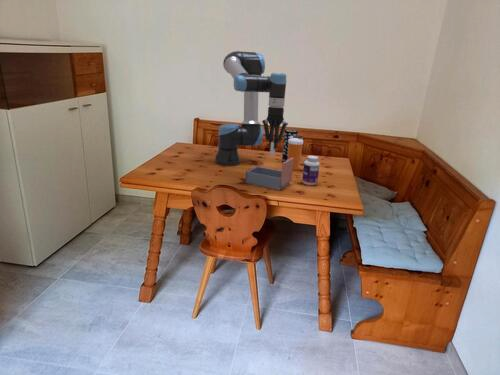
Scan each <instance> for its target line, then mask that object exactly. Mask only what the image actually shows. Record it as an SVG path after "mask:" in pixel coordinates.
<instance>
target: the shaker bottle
mask: <svg viewBox="0 0 500 375" xmlns="http://www.w3.org/2000/svg"><path fill="white" fill-rule="evenodd" d="M303 146H304V139H303V136H302V135H298V136H294V135H291V136H290V138H289V140H288V160H289V159H290V158H294V162H293V171H298V170H299V169H300V164H301V160H302V159H301V158H302V152H303Z"/></svg>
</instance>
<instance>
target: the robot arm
mask: <svg viewBox="0 0 500 375" xmlns="http://www.w3.org/2000/svg"><path fill="white" fill-rule="evenodd" d="M222 64H223V69H224V70H225V71H226V73H228V74H229V75H230V76H231V77H232V78H233V89H234V90H235V91H236V92H241V93H242V92H243V121H242V122H241V124H240V125H239V124H238V123H225V124H221V125H220V126H219V128H218V133H217V135H218V150H217V153H216V155H215V159H214V161H215V164H216V165H221V166H226V167H228V166H230V167H231V166H232V167H233V166H238V165H240V164H241V163H240V162H241V159H240V154H239V151H238V147H241V146H242V147H245V146H247V147H249V146H250V147H254V146H255V147H256V146H257V147H258V146H260V145H261V144H262V142H263V138H264V135H265V140H266V141H268V142H269V143H268V148H269V149H270V153H269V156H272V157H273V156H275V155H276V149H277V148H278V143H279V142H282V140H283V138H284V132H285V130H286V128H287V126H288V125H289V123H288V122H286V121H285V119H284V112H285V108H284V107H285V100H286V87H287V74H286V73H278V72H271V73H270V76H268V75H267V76H264V75H263V74H264V73H265V69H266V61H265V58H264V55H263V54H262V53H260V52H256V51H253V52H252V51H240V50H237V51H232V52H230V53H228V54H227V55H226V56H225V57H224V59H223V62H222ZM259 93H268V107H267V117H266V118H265V119H264V120H262V121H261V122H262V125H263V126H261V122H260V121H259ZM280 126H281V128H280Z"/></svg>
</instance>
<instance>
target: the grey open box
mask: <svg viewBox="0 0 500 375" xmlns="http://www.w3.org/2000/svg"><path fill="white" fill-rule="evenodd" d="M281 175H282V170H279V169H273V168H269V167H262V166H258V165H257V166H254V167H253V168H250V169H249V170H246V171H245V184H249V185H252V186H257V187H263V188H266V187H267V188H268V189H271V188H272V189H271V190H275V189H277V190H276V191H281V190H282V189H284V188H285V187H286V186H287V185H289V184H290V182H289V183H288V184H286V185H285V186H284V187H282V188H280V186H281ZM280 189H281V190H280Z"/></svg>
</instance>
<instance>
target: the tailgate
mask: <svg viewBox="0 0 500 375" xmlns="http://www.w3.org/2000/svg"><path fill="white" fill-rule="evenodd" d="M293 162H294V158H290V159H289V160H287V161H285V162H282V165H281V166H282V168H281V171H282V175H281V186H280V188H282V187H283V188H285V187H286V186H287V185H286V184H288V183H289V184H290V182H292V179H293V171H294V170H293ZM289 184H288V185H289ZM285 185H286V186H285ZM284 186H285V187H284ZM283 188H282V189H283Z"/></svg>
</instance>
